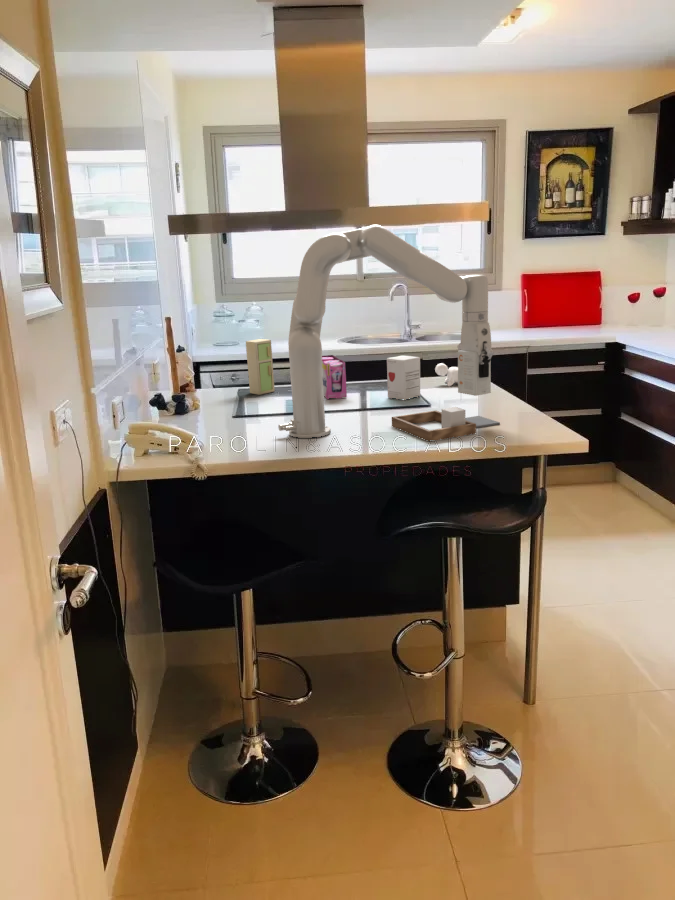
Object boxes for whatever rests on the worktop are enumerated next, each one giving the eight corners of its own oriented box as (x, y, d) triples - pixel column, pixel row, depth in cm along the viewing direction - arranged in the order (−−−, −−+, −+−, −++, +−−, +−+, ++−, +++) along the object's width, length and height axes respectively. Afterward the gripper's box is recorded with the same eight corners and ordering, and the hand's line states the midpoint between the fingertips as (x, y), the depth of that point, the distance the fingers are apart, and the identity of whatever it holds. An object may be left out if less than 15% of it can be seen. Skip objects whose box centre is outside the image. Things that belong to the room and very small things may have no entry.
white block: (450, 435, 203) (450, 412, 202) (441, 432, 208) (441, 409, 206) (465, 433, 205) (465, 409, 203) (455, 429, 210) (455, 406, 208)
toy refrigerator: (260, 395, 277) (256, 342, 271) (249, 393, 282) (245, 340, 276) (276, 392, 282) (272, 339, 276) (265, 390, 287) (261, 338, 282)
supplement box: (386, 398, 260) (385, 358, 256) (403, 394, 266) (402, 354, 262) (404, 401, 253) (404, 359, 249) (421, 397, 259) (420, 356, 255)
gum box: (348, 398, 263) (346, 362, 259) (327, 400, 261) (326, 364, 258) (334, 387, 286) (333, 354, 282) (315, 389, 284) (313, 356, 280)
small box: (491, 393, 212) (491, 350, 208) (475, 396, 209) (475, 352, 205) (473, 390, 218) (473, 348, 215) (457, 392, 215) (457, 350, 212)
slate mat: (469, 429, 209) (469, 427, 209) (449, 422, 219) (449, 420, 219) (499, 424, 214) (499, 422, 213) (478, 417, 223) (478, 415, 223)
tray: (428, 441, 198) (428, 431, 197) (391, 426, 217) (391, 416, 216) (476, 433, 204) (476, 423, 203) (436, 419, 223) (435, 410, 223)
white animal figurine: (464, 389, 286) (429, 377, 284) (471, 369, 284) (437, 357, 282) (468, 393, 278) (433, 381, 276) (476, 372, 276) (440, 360, 274)
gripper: (503, 318, 201) (502, 377, 206) (468, 314, 217) (468, 370, 221) (481, 320, 199) (481, 380, 203) (448, 316, 214) (448, 372, 219)
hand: (474, 375), depth 212 cm, fingers closed on small box, 8 cm apart
